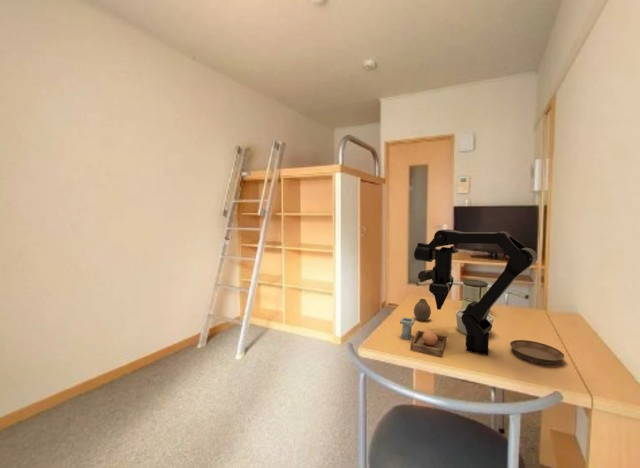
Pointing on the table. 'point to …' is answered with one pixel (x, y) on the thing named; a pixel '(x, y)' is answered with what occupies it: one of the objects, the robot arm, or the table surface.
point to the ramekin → (462, 326)
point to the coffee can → (473, 291)
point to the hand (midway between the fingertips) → (440, 305)
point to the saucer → (536, 352)
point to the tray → (422, 347)
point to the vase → (422, 310)
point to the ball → (430, 338)
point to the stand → (406, 327)
